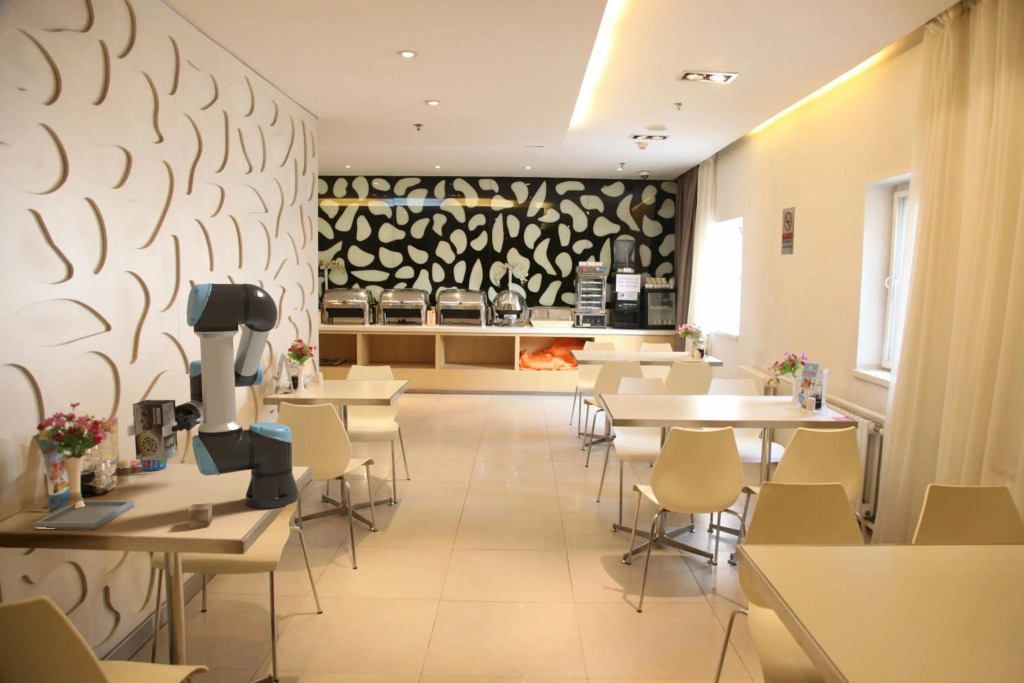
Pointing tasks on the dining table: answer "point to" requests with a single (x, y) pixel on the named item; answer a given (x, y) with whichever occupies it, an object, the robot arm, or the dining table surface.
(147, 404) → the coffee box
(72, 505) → the tray
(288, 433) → the robot arm
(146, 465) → the snack cup
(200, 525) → the walnut block
